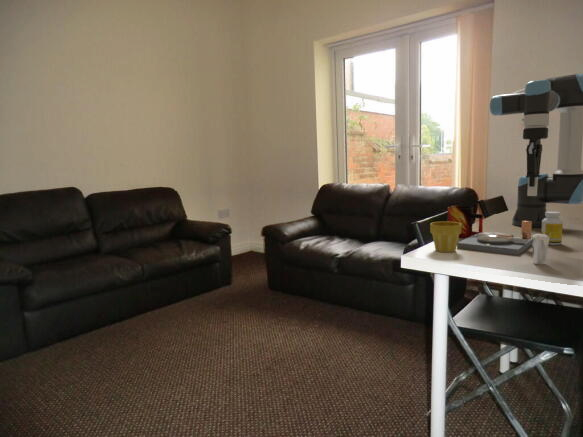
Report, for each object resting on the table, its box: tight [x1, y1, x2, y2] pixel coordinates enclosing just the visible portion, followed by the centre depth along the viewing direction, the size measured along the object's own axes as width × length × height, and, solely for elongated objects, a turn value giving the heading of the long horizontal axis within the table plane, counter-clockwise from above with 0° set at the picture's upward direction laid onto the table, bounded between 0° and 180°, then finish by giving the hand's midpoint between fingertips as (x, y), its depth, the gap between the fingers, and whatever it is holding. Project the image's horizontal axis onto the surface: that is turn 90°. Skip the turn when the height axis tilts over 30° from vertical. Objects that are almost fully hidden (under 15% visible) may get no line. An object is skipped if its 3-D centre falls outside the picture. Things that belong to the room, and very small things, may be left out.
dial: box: [477, 221, 533, 244], centre depth 151 cm, size 18×12×8 cm
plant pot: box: [429, 221, 461, 254], centre depth 149 cm, size 10×10×10 cm
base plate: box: [456, 234, 533, 256], centre depth 154 cm, size 20×20×2 cm
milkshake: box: [531, 233, 551, 266], centre depth 128 cm, size 4×5×10 cm
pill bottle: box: [540, 211, 563, 246], centre depth 155 cm, size 6×6×12 cm
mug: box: [447, 205, 484, 239], centre depth 173 cm, size 10×14×12 cm
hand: (532, 195), depth 149 cm, fingers closed
